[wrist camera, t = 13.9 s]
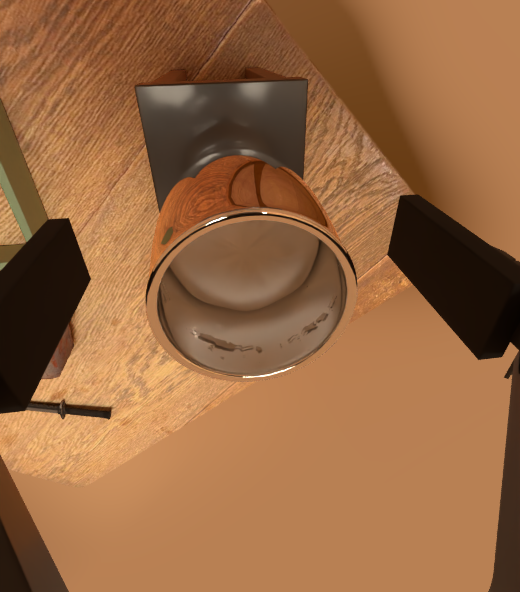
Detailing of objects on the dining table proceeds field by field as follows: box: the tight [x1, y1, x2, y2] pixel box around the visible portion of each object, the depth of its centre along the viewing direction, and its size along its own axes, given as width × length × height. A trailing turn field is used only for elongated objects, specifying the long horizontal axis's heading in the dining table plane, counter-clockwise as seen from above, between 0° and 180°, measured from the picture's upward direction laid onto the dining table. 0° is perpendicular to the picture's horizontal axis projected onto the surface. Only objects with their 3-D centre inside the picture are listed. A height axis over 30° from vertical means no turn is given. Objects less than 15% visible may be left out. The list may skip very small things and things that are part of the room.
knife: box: [26, 401, 111, 419], centre depth 64 cm, size 25×2×5 cm
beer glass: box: [145, 122, 357, 382], centre depth 17 cm, size 7×7×15 cm
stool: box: [135, 67, 308, 213], centre depth 32 cm, size 10×10×22 cm
